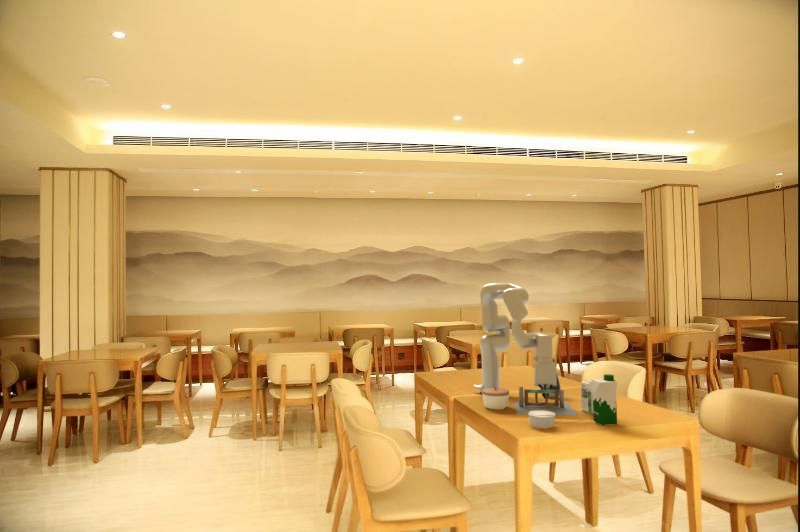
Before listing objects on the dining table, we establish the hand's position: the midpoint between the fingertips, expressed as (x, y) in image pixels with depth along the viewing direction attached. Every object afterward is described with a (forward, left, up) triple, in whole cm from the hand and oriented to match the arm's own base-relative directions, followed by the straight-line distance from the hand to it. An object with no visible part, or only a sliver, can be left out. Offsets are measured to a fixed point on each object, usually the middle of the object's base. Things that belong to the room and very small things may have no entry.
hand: (545, 398), depth 253 cm
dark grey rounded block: (+5, +19, -4) cm, 20 cm away
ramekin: (-6, -34, -4) cm, 35 cm away
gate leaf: (-3, -6, -2) cm, 7 cm away
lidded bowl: (-24, -8, -4) cm, 26 cm away
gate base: (-2, -9, -4) cm, 10 cm away
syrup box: (+18, -13, -4) cm, 22 cm away
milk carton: (+21, -27, -4) cm, 34 cm away
